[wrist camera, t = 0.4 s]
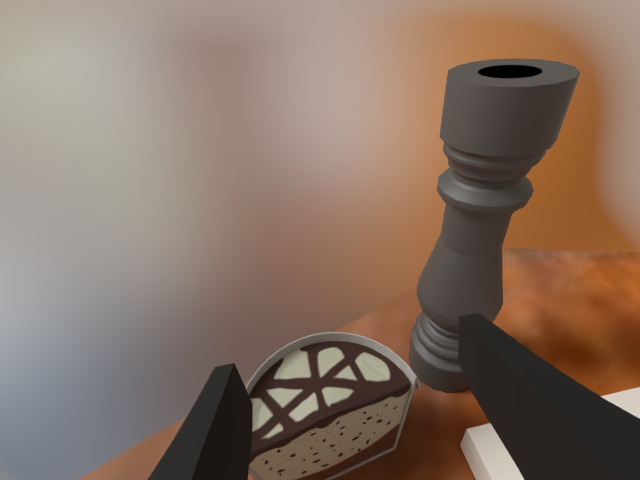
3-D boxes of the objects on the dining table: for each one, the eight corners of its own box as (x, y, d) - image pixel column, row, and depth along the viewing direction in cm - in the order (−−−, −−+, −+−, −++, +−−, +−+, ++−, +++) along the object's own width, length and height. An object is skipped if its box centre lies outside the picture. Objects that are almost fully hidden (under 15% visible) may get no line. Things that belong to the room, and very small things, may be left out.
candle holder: (449, 407, 28) (543, 97, 13) (395, 357, 32) (415, 77, 17) (492, 364, 31) (611, 63, 15) (436, 323, 35) (486, 54, 19)
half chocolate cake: (375, 374, 31) (376, 303, 25) (412, 440, 26) (424, 373, 20) (246, 428, 28) (211, 363, 22) (261, 513, 24) (222, 461, 17)
